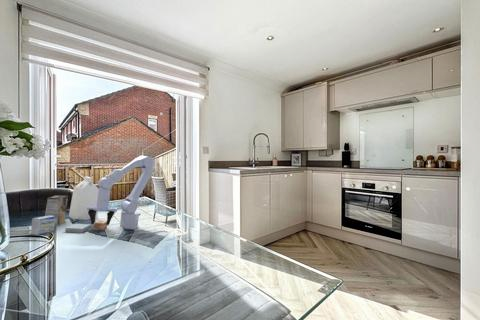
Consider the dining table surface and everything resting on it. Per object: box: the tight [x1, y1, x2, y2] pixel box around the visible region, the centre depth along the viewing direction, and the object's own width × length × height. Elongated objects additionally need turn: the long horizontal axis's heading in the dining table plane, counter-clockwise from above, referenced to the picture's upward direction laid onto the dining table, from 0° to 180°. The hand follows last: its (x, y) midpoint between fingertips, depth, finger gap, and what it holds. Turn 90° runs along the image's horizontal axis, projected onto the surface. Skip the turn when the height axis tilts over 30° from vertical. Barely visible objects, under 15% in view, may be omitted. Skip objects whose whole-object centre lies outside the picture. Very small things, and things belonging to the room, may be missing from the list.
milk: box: [68, 176, 99, 221], centre depth 148 cm, size 12×12×26 cm
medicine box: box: [30, 215, 56, 236], centre depth 113 cm, size 8×4×9 cm, turn 168°
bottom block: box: [63, 227, 93, 234], centre depth 120 cm, size 10×10×2 cm
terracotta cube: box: [92, 220, 108, 231], centre depth 126 cm, size 5×5×5 cm
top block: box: [64, 223, 92, 234], centre depth 121 cm, size 8×8×2 cm
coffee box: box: [44, 194, 69, 227], centre depth 127 cm, size 9×6×16 cm
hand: (100, 224), depth 126 cm, fingers open, 7 cm apart
